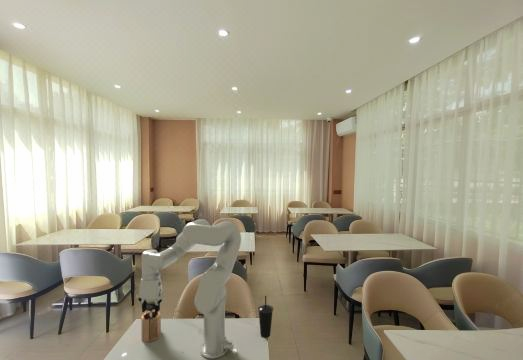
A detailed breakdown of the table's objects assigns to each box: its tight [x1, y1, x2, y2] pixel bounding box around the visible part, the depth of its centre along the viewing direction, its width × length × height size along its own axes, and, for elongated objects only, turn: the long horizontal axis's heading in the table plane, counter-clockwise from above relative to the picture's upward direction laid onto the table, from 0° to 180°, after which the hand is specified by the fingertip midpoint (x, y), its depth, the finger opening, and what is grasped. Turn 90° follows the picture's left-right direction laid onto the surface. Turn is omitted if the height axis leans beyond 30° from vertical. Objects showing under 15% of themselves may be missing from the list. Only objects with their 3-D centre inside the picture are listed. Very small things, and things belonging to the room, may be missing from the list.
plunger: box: [146, 300, 156, 319], centre depth 129 cm, size 5×5×15 cm
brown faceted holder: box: [140, 309, 162, 343], centre depth 130 cm, size 9×10×11 cm
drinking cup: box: [257, 295, 274, 339], centre depth 131 cm, size 8×8×20 cm
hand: (150, 311), depth 129 cm, fingers open, 6 cm apart
